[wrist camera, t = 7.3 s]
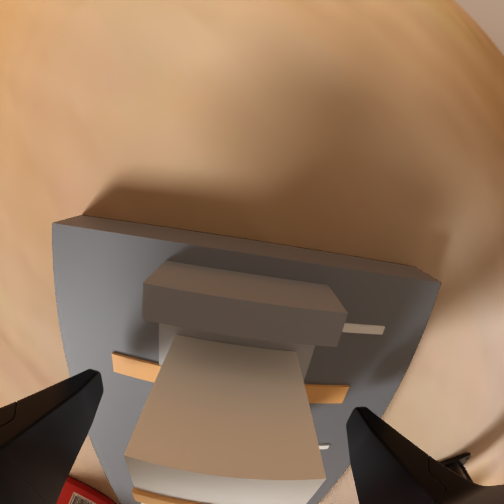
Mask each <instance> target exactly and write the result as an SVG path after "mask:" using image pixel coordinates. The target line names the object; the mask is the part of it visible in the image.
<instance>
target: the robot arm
mask: <svg viewBox="0 0 504 504" xmlns="http://www.w3.org/2000/svg"><path fill="white" fill-rule="evenodd" d="M103 392H104V388H103V382H102V377H101V373H100V372H99V371H97V370H94V369H87V370H85V371H83V372H81V373H79V374H77V375H74V376H72V377H70V378H68V379H66V380H64V381H61V382H59V383H57V384H55V385H53V386H50V387H48V388H46V389H44V390H41V391H39V392H37V393H35V394H32V395H30V396H28V397H26V398H23V399H21V400H19V401H17V402H14V403H12V404H9V405H7V406H4V407H2V408H0V504H56V503H57V501H58V498H59V496H60V493H61V491H62V489H63V486H64V484H65V482H66V479H67V477H68V475H69V473H70V470H71V468H72V466H73V464H74V462H75V460H76V457H77V455H78V453H79V451H80V449H81V447H82V445H83V443H84V441H85V438H86V436H87V434H88V432H89V430H90V428H91V426H92V423H93V421H94V418H95V415H96V412H97V409H98V406H99V404H100V401H101V398H102V395H103ZM346 430H347V439H348V448H349V457H350V463H351V468H352V472H353V477H354V481H355V486H356V490H357V495H358V500H359V504H504V485H496V486H481V485H477V484H475V483H473V481H472V479H471V478H470V476H469V474H468V473H467V471H466V469H465V467H464V466H463V464H464V463H465V462H466V461H467V460H468V459H469V458H470V457H471V454H470V453H466V454H464V455H461V456H459V457H456V458H454V459H451V460H448V461H445V462H442V463H439V462H437V461H436V460H435V459H433V458H432V457H430V456H428V454H426V453H425V452H424V451H422V450H421V449H420V448H418V447H417V446H416V445H414V444H413V443H412V442H410V441H409V440H408V439H406V438H405V437H404V436H402V435H401V434H400V433H399V432H397V431H396V430H395V429H393V428H392V427H391V426H390V425H388V424H387V423H386V422H385V421H383V420H382V419H381V418H380V417H378V416H377V415H376V414H375V413H373V412H372V411H371V410H370V409H368V408H367V407H364V406H363V407H355V408H354V409H353V411H352V413H351V415H350V417H349V419H348V421H347V423H346Z"/></svg>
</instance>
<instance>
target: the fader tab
mask: <svg viewBox="0 0 504 504" xmlns="http://www.w3.org/2000/svg"><path fill="white" fill-rule="evenodd" d="M124 457H125V461H126V464H127V467H128V470H129V473H130V476H131V479H132V481H133V484H134V487H133V490H132V494H133V497H134V499H135V501H137V502H141V504H307V502H308V501H309V500H310V499H311V498H312V496H313V495H314V494H315V493H316V491H317V490H318V489H319V488H320V486H321V485H322V484H323V482H324V481H325V480H326V475H325V471H324V466H323V462H322V457H321V453H320V448H319V444H318V440H317V435H316V431H315V427H314V423H313V418H312V414H311V410H310V406H309V401H308V397H307V393H306V389H305V385H304V381H303V377H302V373H301V368H300V364H299V360H298V356H297V352H294V351H284V350H274V349H265V348H257V347H249V346H242V345H234V344H228V343H221V342H215V341H209V340H203V339H197V338H191V337H186V336H181V335H175V337H174V340H173V342H172V344H171V346H170V348H169V351H168V353H167V355H166V357H165V359H164V362H163V364H162V366H161V368H160V371H159V373H158V375H157V377H156V380H155V382H154V384H153V387H152V389H151V391H150V393H149V396H148V398H147V400H146V403H145V405H144V407H143V410H142V412H141V414H140V417H139V419H138V422H137V424H136V426H135V429H134V431H133V434H132V436H131V439H130V441H129V443H128V446H127V448H126V451H125V453H124Z"/></svg>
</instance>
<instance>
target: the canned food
mask: <svg viewBox="0 0 504 504" xmlns="http://www.w3.org/2000/svg"><path fill="white" fill-rule="evenodd" d="M56 504H115V503H114V502H113V501H112V500H111V499H109V498H108V497H107V496H105V495H104V494H102V493H100V492H99V491H97V490H95V489H93V488H92V487H90V486H88V485H86V484H84V483H82V482H80V481H78V480H75V479H73V478H71V477H67V479H66V482H65V484H64V486H63V489H62V491H61V493H60V496H59V498H58V501H57V503H56Z"/></svg>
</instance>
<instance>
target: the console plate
mask: <svg viewBox="0 0 504 504" xmlns="http://www.w3.org/2000/svg"><path fill="white" fill-rule="evenodd" d="M52 249H53V270H54V283H55V294H56V302H57V310H58V317H59V324H60V330H61V336H62V341H63V346H64V351H65V356H66V361H67V365H68V369H69V373H70V377H72V376H74V375H77V374H79V373H81V372H83V371H85V370H87V369H94V370H97V371H99V372H100V373H101V377H102V382H103V388H104V392H103V395H102V398H101V401H100V404H99V406H98V409H97V412H96V415H95V418H94V421H93V423H92V426H91V428H90V430H89V432H88V435H89V437H90V440H91V442H92V445H93V447H94V450H95V452H96V454H97V457H98V459H99V461H100V464H101V466H102V468H103V470H104V472H105V474H106V477H107V479H108V481H109V483H110V485H111V487H112V489H113V490H114V492H115V494H116V496H117V498H118V500H119V502H120V503H121V504H141V502H137V501H135V499H134V497H133V494H132V490H133V487H134V484H133V481H132V479H131V476H130V473H129V470H128V467H127V464H126V461H125V457H124V453H125V451H126V448H127V446H128V443H129V441H130V439H131V436H132V434H133V431H134V429H135V426H136V424H137V422H138V419H139V417H140V414H141V412H142V410H143V407H144V405H145V403H146V400H147V398H148V396H149V393H150V391H151V389H152V387H153V384H154V382H155V380H156V377H157V375H158V373H159V371H160V368H161V366H162V364H163V362H164V359H165V357H166V355H167V353H168V351H169V348H170V346H171V344H172V342H173V340H174V337H175V335H181V336H186V337H191V338H197V339H203V340H209V341H215V342H221V343H228V344H234V345H242V346H249V347H257V348H265V349H274V350H284V351H294V352H297V356H298V360H299V364H300V368H301V373H302V377H303V381H304V385H305V389H306V393H307V397H308V401H309V406H310V410H311V414H312V418H313V423H314V427H315V431H316V435H317V440H318V444H319V448H320V453H321V457H322V462H323V466H324V471H325V475H326V480H325V481H324V482H323V484H322V485H321V486H320V488H319V489H318V490H317V491H316V493H315V494H314V495H313V496H312V498H311V499H310V500H309V501H308V502H307V504H318V503H319V502H320V501H321V499H322V498H323V497H324V496H325V495H326V494H327V492H328V491H329V490H330V489H331V488H332V487H333V485H334V484H335V483H336V482H337V480H338V479H339V478H340V477H341V475H342V474H343V473H344V471H345V470H346V469H347V468H348V466H349V465H350V457H349V448H348V439H347V430H346V423H347V421H348V419H349V417H350V415H351V413H352V411H353V409H354V408H355V407H363V406H364V407H367V408H368V409H370V410H371V411H372V412H373V413H375V414H376V415H377V416H378V417H380V418H381V417H382V415H383V414H384V412H385V410H386V408H387V407H388V405H389V403H390V401H391V400H392V398H393V396H394V394H395V392H396V390H397V388H398V387H399V385H400V383H401V381H402V379H403V377H404V375H405V373H406V371H407V369H408V367H409V364H410V362H411V360H412V358H413V356H414V354H415V351H416V349H417V347H418V344H419V342H420V340H421V337H422V335H423V333H424V330H425V328H426V325H427V322H428V320H429V317H430V314H431V312H432V309H433V306H434V303H435V300H436V297H437V294H438V291H439V288H440V285H441V282H439V281H438V280H436V279H434V278H433V277H431V276H430V275H428V274H426V273H425V272H423V271H421V270H420V269H418V268H416V267H413V266H407V265H401V264H396V263H390V262H384V261H378V260H372V259H366V258H360V257H354V256H348V255H342V254H336V253H330V252H324V251H318V250H312V249H306V248H299V247H293V246H287V245H281V244H274V243H268V242H262V241H255V240H249V239H242V238H236V237H229V236H223V235H216V234H209V233H203V232H196V231H189V230H183V229H176V228H169V227H162V226H155V225H148V224H141V223H134V222H127V221H120V220H113V219H105V218H98V217H91V216H83V215H80V216H76V217H72V218H68V219H65V220H61V221H58V222H54V223H52Z"/></svg>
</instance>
